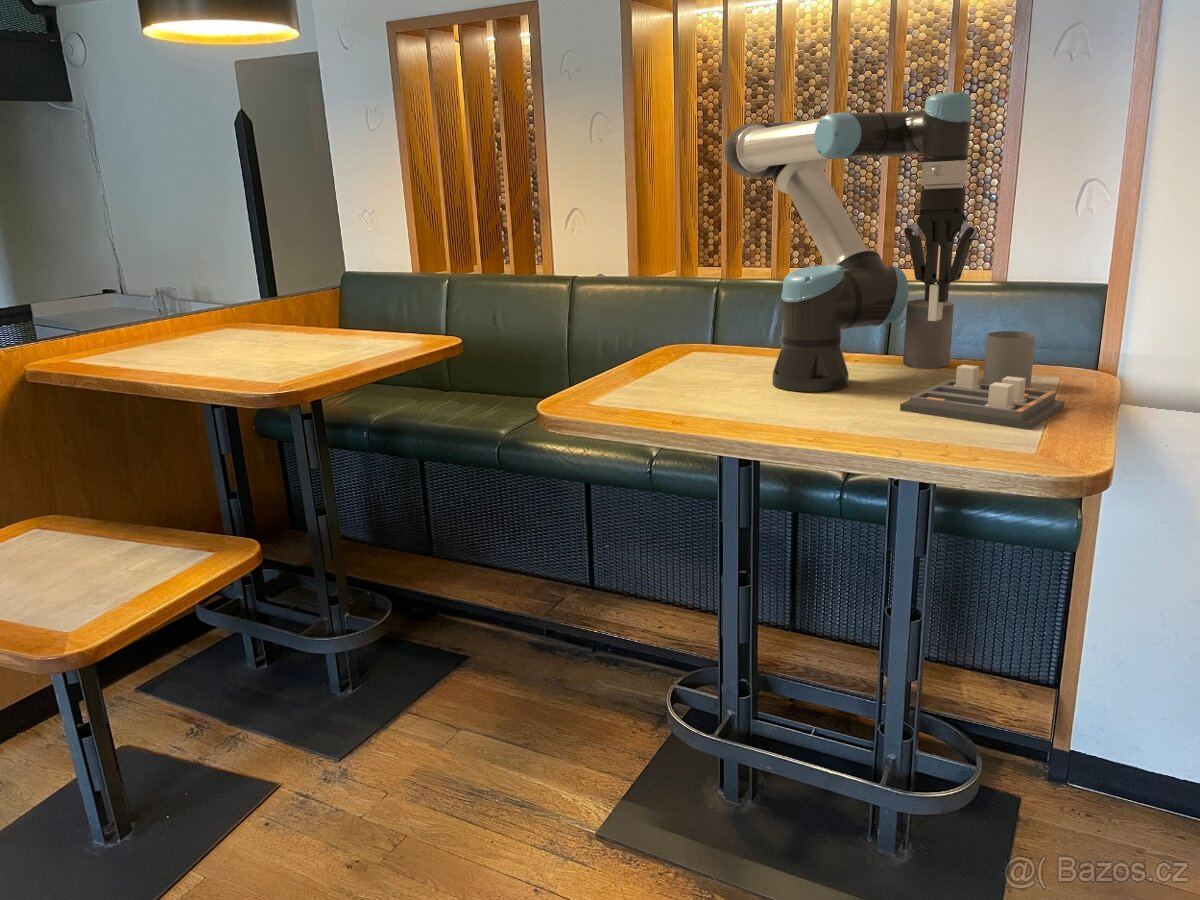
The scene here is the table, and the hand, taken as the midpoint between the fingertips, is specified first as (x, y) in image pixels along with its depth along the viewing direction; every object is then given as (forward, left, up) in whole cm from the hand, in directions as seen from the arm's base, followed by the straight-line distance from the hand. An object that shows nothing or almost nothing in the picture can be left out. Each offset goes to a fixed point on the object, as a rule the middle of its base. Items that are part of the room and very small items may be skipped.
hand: (934, 319), depth 160 cm
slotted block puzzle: (+12, -5, -14) cm, 19 cm away
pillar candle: (-12, +26, -15) cm, 32 cm away
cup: (+9, +15, -15) cm, 22 cm away
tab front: (+17, -11, -13) cm, 24 cm away
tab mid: (+17, -5, -13) cm, 22 cm away
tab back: (+7, 0, -13) cm, 15 cm away
